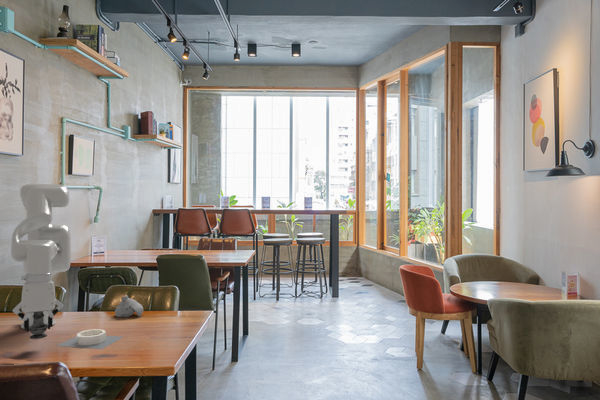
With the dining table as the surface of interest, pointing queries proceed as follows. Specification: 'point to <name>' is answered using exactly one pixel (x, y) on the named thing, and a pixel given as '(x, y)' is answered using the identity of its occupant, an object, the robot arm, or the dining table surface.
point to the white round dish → (91, 337)
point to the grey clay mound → (128, 308)
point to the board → (102, 345)
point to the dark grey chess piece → (38, 326)
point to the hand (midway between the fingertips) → (38, 328)
